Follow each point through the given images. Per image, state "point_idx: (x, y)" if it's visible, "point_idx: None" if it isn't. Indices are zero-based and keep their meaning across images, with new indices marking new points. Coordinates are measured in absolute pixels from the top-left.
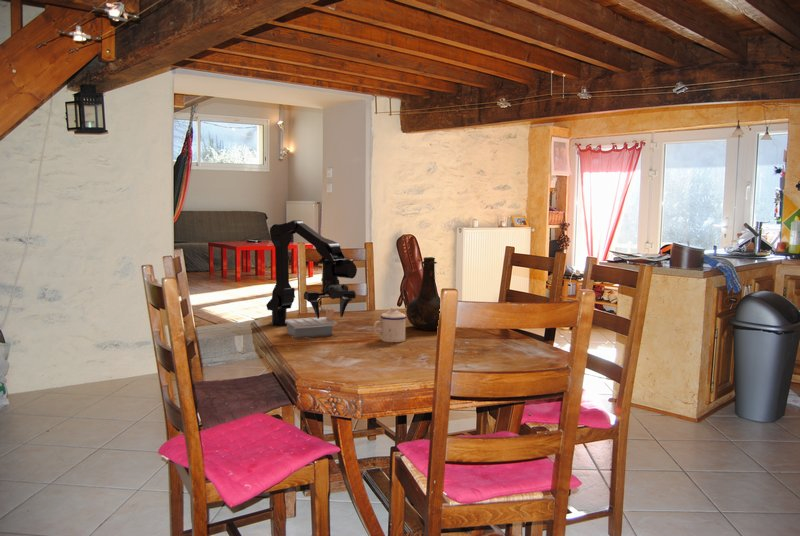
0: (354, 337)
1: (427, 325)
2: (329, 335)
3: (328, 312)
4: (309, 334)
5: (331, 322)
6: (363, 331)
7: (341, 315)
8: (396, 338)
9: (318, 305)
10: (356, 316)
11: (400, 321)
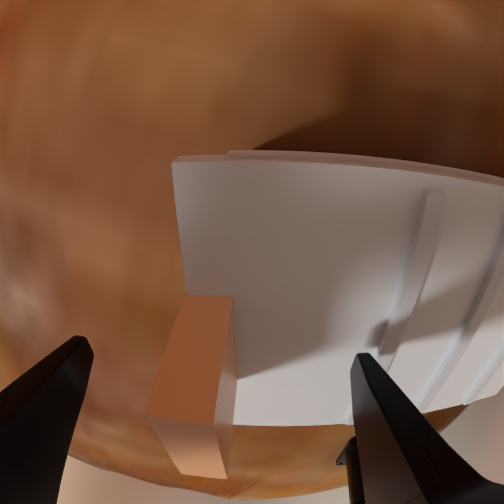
0: (93, 29)
1: None
2: (278, 150)
3: (225, 413)
4: None
5: (261, 173)
6: (11, 220)
7: (75, 347)
8: None
9: (429, 496)
10: None
11: None
